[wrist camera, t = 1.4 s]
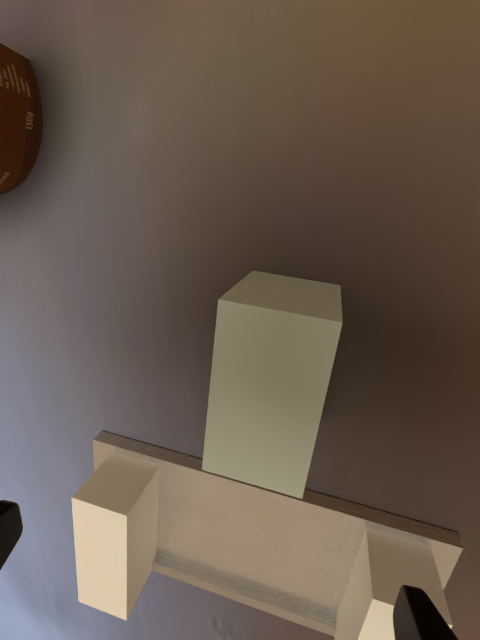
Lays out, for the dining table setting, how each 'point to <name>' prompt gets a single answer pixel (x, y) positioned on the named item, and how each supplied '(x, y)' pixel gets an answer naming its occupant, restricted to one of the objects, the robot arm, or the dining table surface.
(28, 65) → the food container
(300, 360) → the block
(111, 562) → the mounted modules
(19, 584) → the dining table surface
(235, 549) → the rail plate
